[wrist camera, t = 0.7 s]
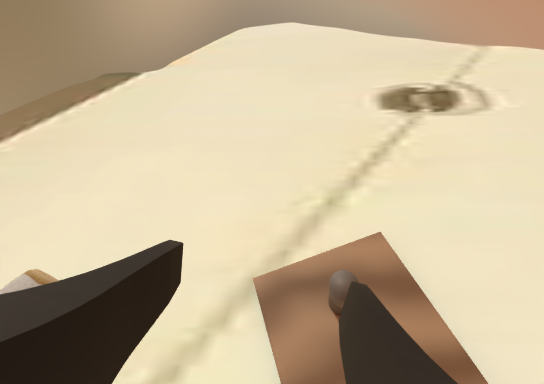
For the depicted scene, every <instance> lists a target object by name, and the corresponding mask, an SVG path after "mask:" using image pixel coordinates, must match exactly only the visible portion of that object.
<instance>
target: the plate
mask: <svg viewBox="0 0 544 384" xmlns="http://www.w3.org/2000/svg"><path fill="white" fill-rule="evenodd" d="M253 281H254V285H255V288H256V292H257V296H258V299H259V303H260V307H261V311H262V314H263V318H264V322H265V325H266V329H267V333H268V337H269V340H270V344H271V348H272V351H273V355H274V359H275V363H276V366H277V370H278V374H279V377H280V381H281V384H346V380H345V375H344V369H343V363H342V357H341V350H340V341H339V318H340V314H341V311H342V308H343V305H344V302H345V299H346V296H347V293H348V290H349V287H350V284H351V281H353V282H357V283H361V284H366V285H367V286H368V287H369V288H370V289H371V290H372V292H373V293H374V294H375V295H376V297H377V298H378V299H379V300H380V301H381V303H382V304H383V305H384V306H385V308H386V309H387V310H388V311H389V312H390V314H391V315H392V316H393V317H394V318H395V320H396V321H397V322H398V323H399V324H400V325H401V326H402V328H403V329H404V330H405V331H406V332H407V333H408V334H409V335H410V337H411V338H412V339H413V340H414V341H415V342H416V343H417V344H418V345H419V346H420V347H421V348H422V349H423V350H424V352H425V353H426V354H427V355H428V356H429V357H430V358H431V359H432V360H433V361H434V362H436V363H437V364H438V365H439V366H440V367H441V368H442V369H443V370H444V371H445V372H446V373H447V374H448V375H449V376H450V377H451V378H452V379H453V380H455V381H456V382H457V383H458V384H488V383H487V381H486V380H485V378H484V377H483V375H482V374H481V373H480V371H479V370H478V368H477V367H476V366H475V364H474V363H473V361H472V360H471V359H470V357H469V356H468V354H467V353H466V352H465V350H464V349H463V347H462V346H461V345H460V343H459V342H458V340H457V339H456V338H455V336H454V335H453V333H452V332H451V330H450V329H449V328H448V326H447V325H446V323H445V322H444V321H443V319H442V318H441V316H440V315H439V314H438V312H437V311H436V309H435V308H434V307H433V305H432V304H431V302H430V301H429V300H428V298H427V297H426V295H425V294H424V293H423V291H422V290H421V288H420V287H419V285H418V284H417V283H416V281H415V280H414V278H413V277H412V276H411V274H410V273H409V271H408V270H407V269H406V267H405V266H404V264H403V263H402V262H401V260H400V259H399V257H398V256H397V255H396V253H395V252H394V250H393V249H392V248H391V246H390V245H389V243H388V242H387V240H386V239H385V238H384V236H383V235H382V233H381V232H378V233H376V234H373V235H370V236H367V237H365V238H362V239H359V240H356V241H354V242H351V243H348V244H346V245H343V246H340V247H337V248H335V249H332V250H329V251H326V252H324V253H321V254H318V255H316V256H313V257H310V258H307V259H305V260H302V261H299V262H296V263H294V264H291V265H288V266H286V267H283V268H280V269H277V270H275V271H272V272H269V273H266V274H264V275H261V276H258V277H256V278H253Z"/></svg>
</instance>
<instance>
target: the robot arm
mask: <svg viewBox="0 0 544 384" xmlns="http://www.w3.org/2000/svg"><path fill="white" fill-rule="evenodd" d="M182 255H183V243H182V242H177V241H173V240H168V241H165V242H163V243H160V244H158V245H155V246H153V247H151V248H148V249H146V250H144V251H141V252H139V253H136V254H134V255H132V256H129V257H127V258H124V259H122V260H119V261H117V262H114V263H111V264H109V265H106V266H103V267H101V268H98V269H95V270H92V271H90V272H86V273H83V274H80V275H77V276H74V277H70V278H67V279H64V280H60V281H56V282H52V283H48V284H44V285H40V286H36V287H32V288H28V289H24V290H19V291H14V292H9V293H4V294H0V384H112V382H113V381H114V379H115V378H116V376H117V374H118V373H119V371H120V370H121V368H122V366H123V365H124V363H125V362H126V360H127V359H128V358H129V356H130V355H131V353H132V352H133V350H134V349H135V348H136V346H137V345H138V344H139V342H140V341H141V340H142V339H143V337H144V336H145V335H146V333H147V332H148V331H149V329H150V328H151V327H152V325H153V324H154V323H155V321H156V320H157V319H158V317H159V316H160V314H161V313H162V312H163V310H164V309H165V308H166V306H167V305H168V304H169V302H170V300H171V299H172V297H173V295H174V293H175V292H176V290H177V288H178V286H179V284H180V282H181V269H182ZM339 341H340V350H341V357H342V363H343V369H344V375H345V380H346V384H458V383H457V382H456V381H455V380H453V379H452V378H451V377H450V376H449V375H448V374H447V373H446V372H445V371H444V370H443V369H442V368H441V367H440V366H439V365H438V364H437V363H436V362H434V361H433V360H432V359H431V358H430V357H429V356H428V355H427V354H426V353H425V352H424V350H423V349H422V348H421V347H420V346H419V345H418V344H417V343H416V342H415V341H414V340H413V339H412V338H411V337H410V335H409V334H408V333H407V332H406V331H405V330H404V329H403V328H402V326H401V325H400V324H399V323H398V322H397V321H396V320H395V318H394V317H393V316H392V315H391V314H390V312H389V311H388V310H387V309H386V308H385V306H384V305H383V304H382V303H381V301H380V300H379V299H378V298H377V297H376V295H375V294H374V293H373V292H372V290H371V289H370V288H369V287H368V286H367V285H366V284H361V283H357V282H353V281H351V284H350V287H349V290H348V293H347V296H346V299H345V302H344V305H343V308H342V311H341V314H340V318H339Z"/></svg>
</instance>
